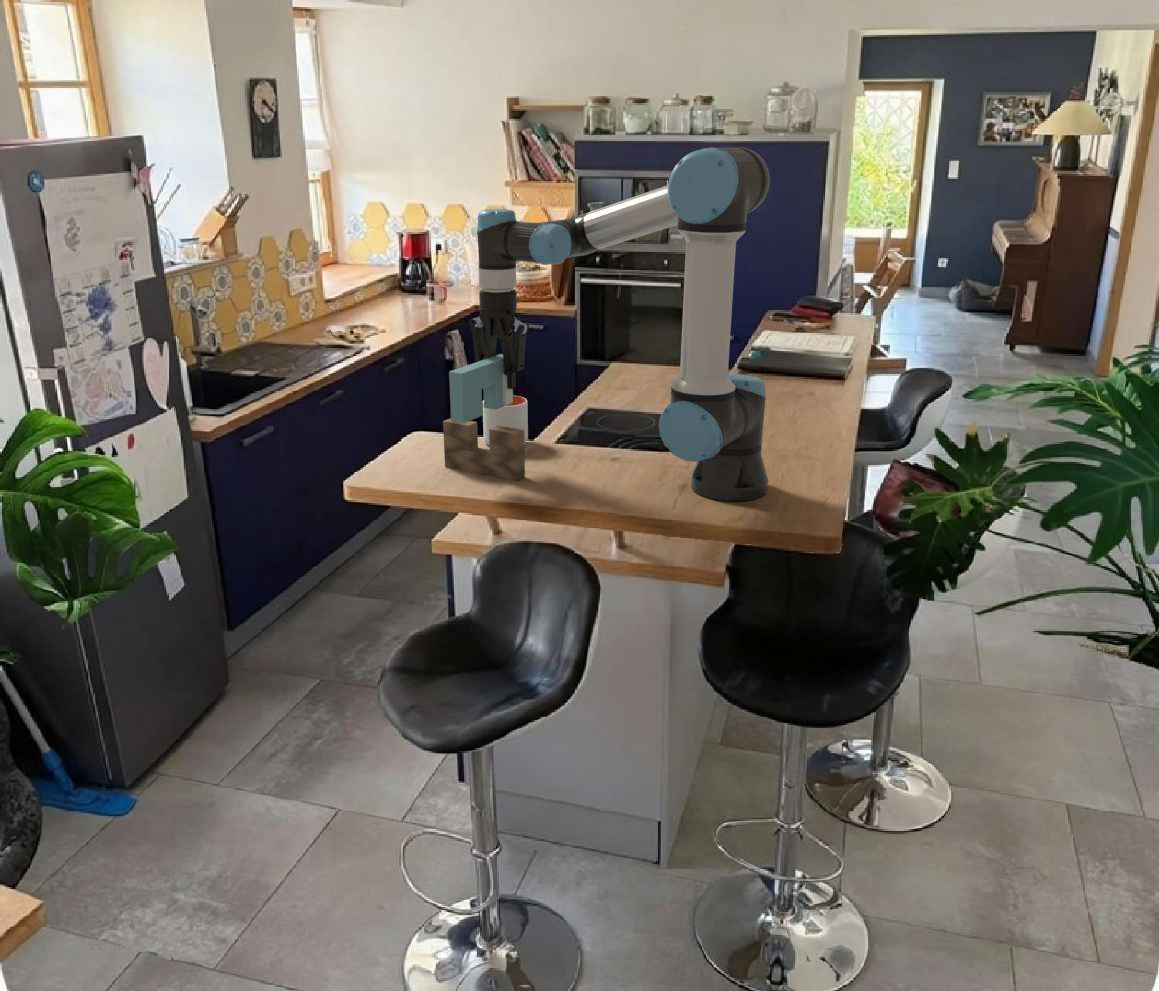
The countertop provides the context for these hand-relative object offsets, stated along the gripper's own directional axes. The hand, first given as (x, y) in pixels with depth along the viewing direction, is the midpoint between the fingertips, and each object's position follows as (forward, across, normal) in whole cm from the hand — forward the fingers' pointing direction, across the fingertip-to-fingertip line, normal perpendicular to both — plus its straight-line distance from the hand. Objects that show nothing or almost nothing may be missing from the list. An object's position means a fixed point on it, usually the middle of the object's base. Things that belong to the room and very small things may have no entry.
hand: (500, 402), depth 213 cm
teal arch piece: (+1, 0, +6) cm, 6 cm away
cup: (+14, +7, -12) cm, 20 cm away
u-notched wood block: (+13, 0, +6) cm, 15 cm away
